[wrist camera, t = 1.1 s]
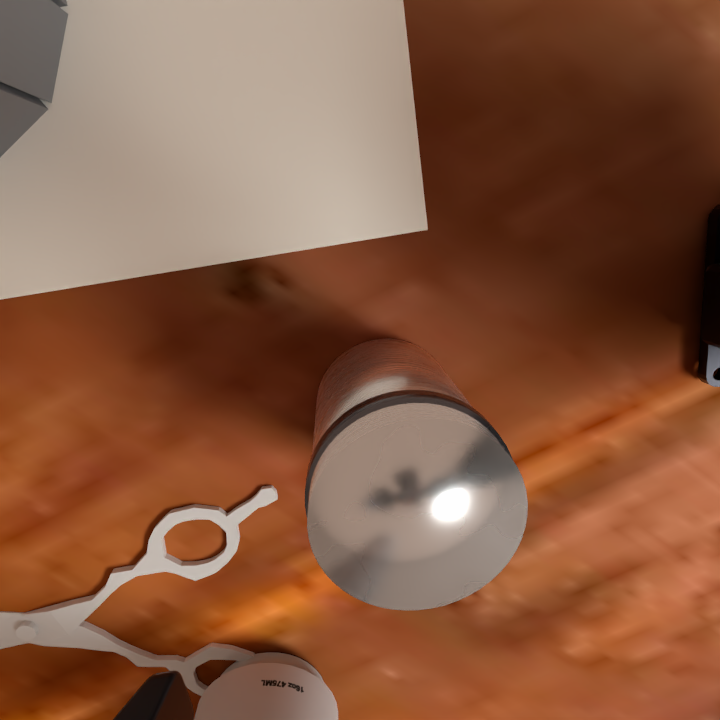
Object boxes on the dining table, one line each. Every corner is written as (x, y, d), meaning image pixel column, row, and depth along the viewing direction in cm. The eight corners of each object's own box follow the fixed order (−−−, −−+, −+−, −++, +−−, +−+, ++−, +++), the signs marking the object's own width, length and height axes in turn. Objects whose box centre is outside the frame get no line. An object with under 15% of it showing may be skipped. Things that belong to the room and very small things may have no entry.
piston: (446, 324, 16) (526, 395, 10) (459, 454, 18) (536, 593, 11) (301, 348, 16) (281, 437, 10) (327, 476, 18) (325, 630, 11)
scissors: (304, 695, 21) (-166, 752, 20) (305, 678, 21) (-148, 732, 20) (275, 487, 18) (-282, 542, 17) (277, 477, 18) (-256, 528, 17)
